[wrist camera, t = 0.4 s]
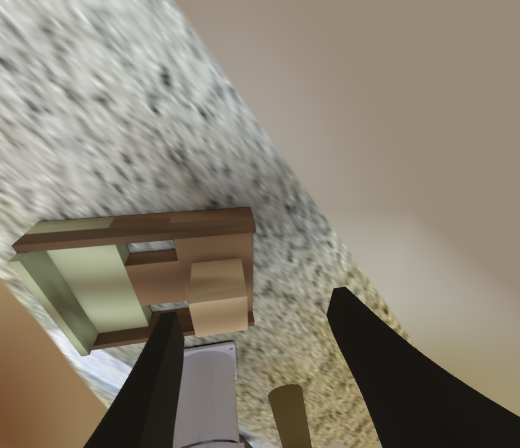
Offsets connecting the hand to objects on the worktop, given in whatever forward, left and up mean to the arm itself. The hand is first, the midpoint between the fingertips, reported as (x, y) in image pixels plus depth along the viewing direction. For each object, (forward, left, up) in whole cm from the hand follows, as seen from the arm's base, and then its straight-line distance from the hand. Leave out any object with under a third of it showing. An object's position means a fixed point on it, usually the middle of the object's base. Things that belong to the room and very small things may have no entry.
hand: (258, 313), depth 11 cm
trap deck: (-6, +6, -10) cm, 13 cm away
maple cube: (-6, +2, -8) cm, 10 cm away
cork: (-37, -7, -10) cm, 39 cm away
